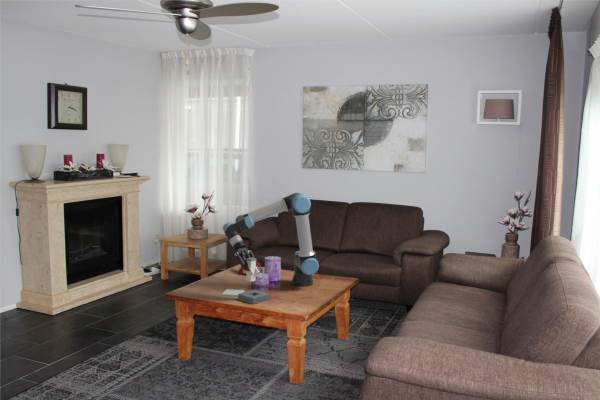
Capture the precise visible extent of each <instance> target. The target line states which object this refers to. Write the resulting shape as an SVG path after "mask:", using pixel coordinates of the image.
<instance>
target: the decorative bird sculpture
mask: <svg viewBox="0 0 600 400" xmlns="http://www.w3.org/2000/svg"><path fill="white" fill-rule="evenodd" d="M245 259H246V258H245ZM246 261H247V260H246ZM239 264H240V263H239V261H238V262H237V265H236V267H237V266H239ZM256 266H258V267H262V265H261V263H260V262H259V261H257V263H256ZM245 271H246V272H247V270H246V268H244V267H242V266H241V265H240V268H239V269H238V275H242V274H243V273H244V272H245Z"/></svg>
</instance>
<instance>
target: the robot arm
mask: <svg viewBox="0 0 600 400" xmlns="http://www.w3.org/2000/svg"><path fill="white" fill-rule="evenodd" d="M311 206H312V203H311V199H310V198H309V197H308V196H307V195H305V194H303V193H300V192H295V193H291V194H288V195H286V196H285V197H282V198H281V199H280V200H278V201H276V202H274V203H270V204H268V205H266V206H265V205H264V206H263V207H261V208H258V209H255V210H253V211H249V212H247V213H245V214H241V215H237V216H236V217H235V221H234V222H232V221H229V222H226V223H224V225H223V226H222V230H223V232H224V234H225V236H226V238H227V239H228V242H229V243H230V246H231V247H232V249H233V250H234V252H235V253H234V254H233V256H234V257H235V258H236V260H237V261H238V262H239V264H240V267H241V266H242V267H244V268H246V270H247V271H248V272H249V274H250V275H251V276H252V275H253V274H254V273H253V271H252V269H251V267H250V266H249V265H248V264H247V261H246V259H245V258H251V257H252V258H255V255H254V253H253V251H252V249H250V250H248V248H247V246H246V244H245V242H244V240H243V238H242V237H241V235H240V234H241V233H243V232H245V231H247V230H249V229H251V228H252V227H254V226H255V223H257V222H259V221H262V220H265V219H267V218H270V217H271V216H274V215H275V216H276V215H277V214H281V213H282V212H289V211H292V216H293V217H294V218H295V224H296V230H297V239H298V246H299V250H298V251H295V252H294V270H293V271H294V273H293V276H292V277H291V278H292V279H291V285H293V286H298V287H308V286H313V285H314V279H313V276H312V275H314V274H316V273H317V272H318V270H319V268H320V265H319V262H318V260H317V256H316V252H315V251H314V250H313V243H312V234H311V226H310V218H309V216H310V214H311ZM257 262H258V261H257V260H256V263H257ZM247 271H246V272H247ZM259 274H260V271H259V270H258V269H257V266H256V276H258V275H259Z"/></svg>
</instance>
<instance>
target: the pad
mask: <svg viewBox="0 0 600 400" xmlns="http://www.w3.org/2000/svg"><path fill="white" fill-rule="evenodd" d="M244 292H245V289H230V288H227V289H225V290H224V291H223V292H222V293H221V297H236V298H238V294H240V293H244Z"/></svg>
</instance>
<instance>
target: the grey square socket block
mask: <svg viewBox="0 0 600 400" xmlns="http://www.w3.org/2000/svg"><path fill="white" fill-rule="evenodd" d="M237 300H239V301H243V302H245V303H248V304H252V305H256V304H258V303H262V302H266V301H271V294H270V293H268V292H264V291H260V290H257V289H252V290H247V291H244V293H240V294H238V297H237Z"/></svg>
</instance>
